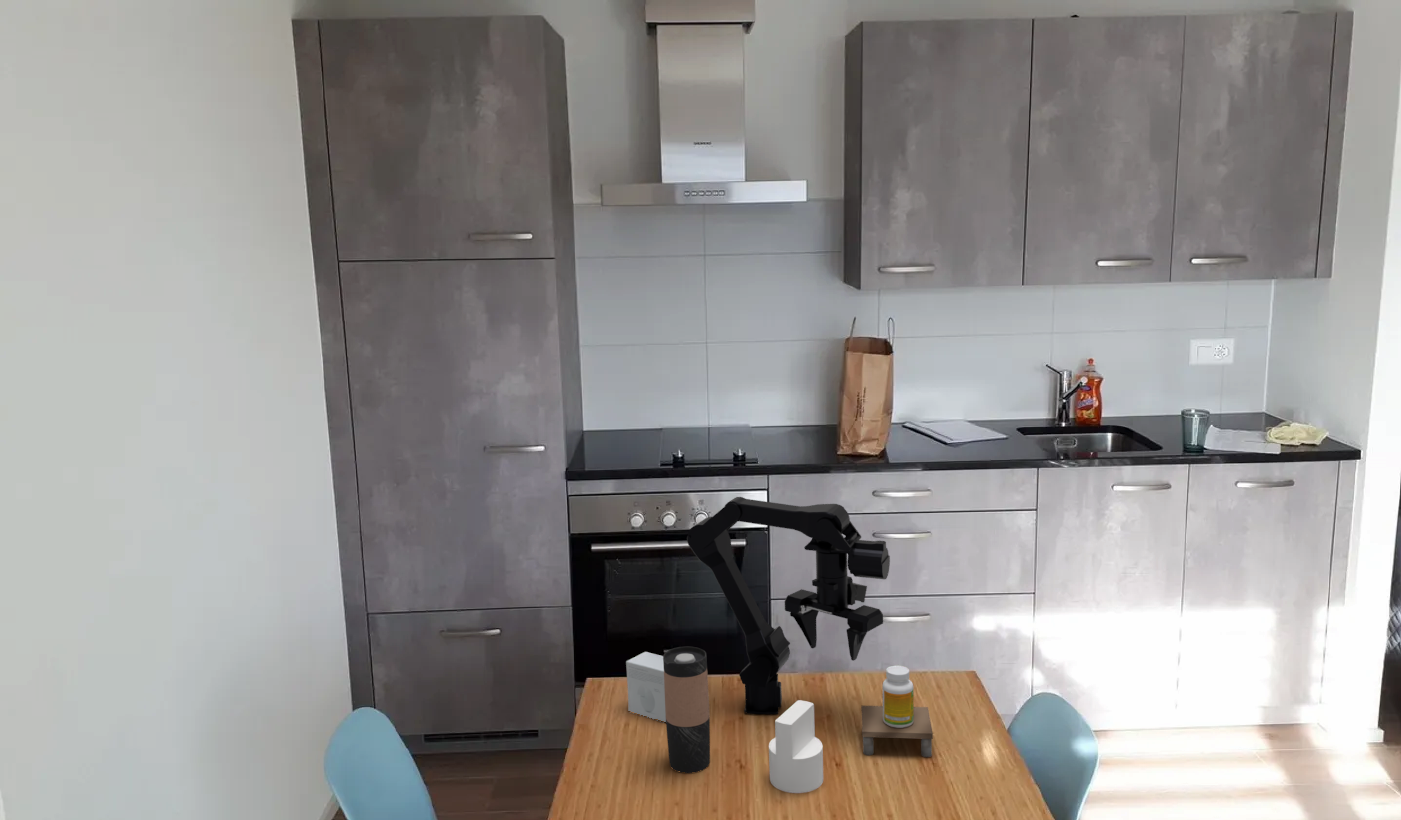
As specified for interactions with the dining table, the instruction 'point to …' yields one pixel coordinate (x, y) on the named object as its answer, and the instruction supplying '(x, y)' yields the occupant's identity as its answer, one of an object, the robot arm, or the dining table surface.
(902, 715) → the supplement bottle
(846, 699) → the dining table surface
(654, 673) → the skincare box
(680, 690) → the travel mug
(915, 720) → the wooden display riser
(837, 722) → the dining table surface
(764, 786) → the dining table surface
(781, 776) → the base with upright slab
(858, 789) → the dining table surface
